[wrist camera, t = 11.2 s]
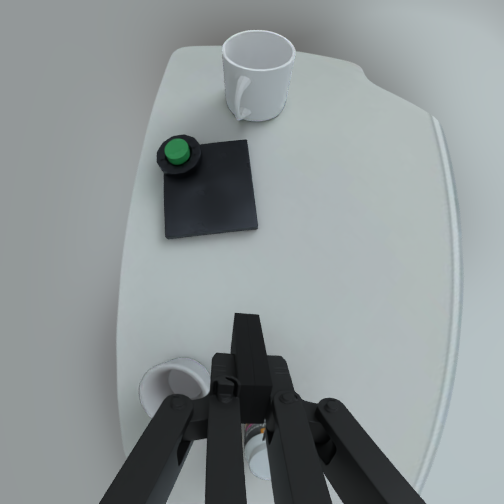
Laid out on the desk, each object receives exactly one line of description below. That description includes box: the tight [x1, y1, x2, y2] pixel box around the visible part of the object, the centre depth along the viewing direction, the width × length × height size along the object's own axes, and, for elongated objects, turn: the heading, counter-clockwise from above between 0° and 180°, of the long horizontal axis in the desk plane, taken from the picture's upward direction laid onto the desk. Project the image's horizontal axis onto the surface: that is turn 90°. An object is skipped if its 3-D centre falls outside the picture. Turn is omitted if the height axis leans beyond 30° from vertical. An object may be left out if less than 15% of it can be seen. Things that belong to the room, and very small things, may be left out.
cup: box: [139, 358, 211, 419], centre depth 30 cm, size 11×8×8 cm
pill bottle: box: [244, 420, 271, 480], centre depth 28 cm, size 6×6×10 cm
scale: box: [157, 135, 258, 239], centre depth 37 cm, size 13×14×3 cm
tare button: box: [165, 139, 190, 165], centre depth 36 cm, size 3×3×2 cm
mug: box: [222, 30, 296, 121], centre depth 35 cm, size 10×12×12 cm
